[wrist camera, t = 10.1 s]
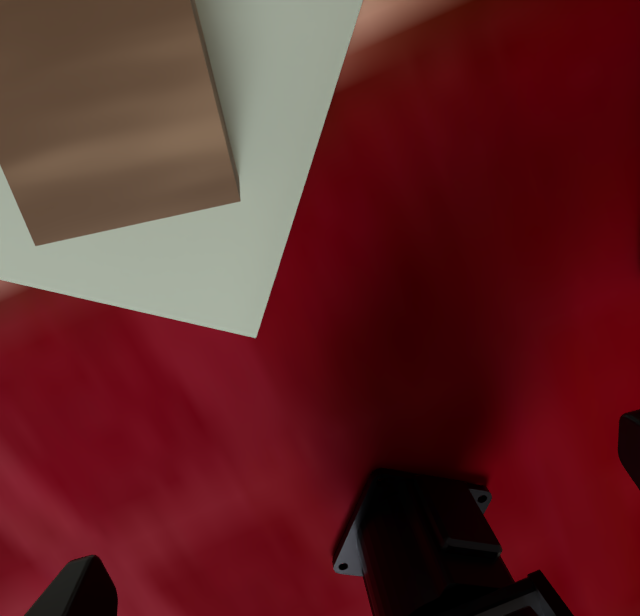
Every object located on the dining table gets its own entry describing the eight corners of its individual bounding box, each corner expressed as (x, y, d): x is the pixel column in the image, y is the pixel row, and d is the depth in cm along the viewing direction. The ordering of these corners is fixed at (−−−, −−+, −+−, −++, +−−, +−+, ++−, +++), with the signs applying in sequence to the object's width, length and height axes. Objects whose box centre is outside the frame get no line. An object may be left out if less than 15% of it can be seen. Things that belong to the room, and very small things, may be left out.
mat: (255, 333, 22) (255, 338, 21) (-178, 233, 18) (-186, 237, 18) (411, -160, 16) (415, -165, 16) (-177, -463, 12) (-190, -480, 12)
